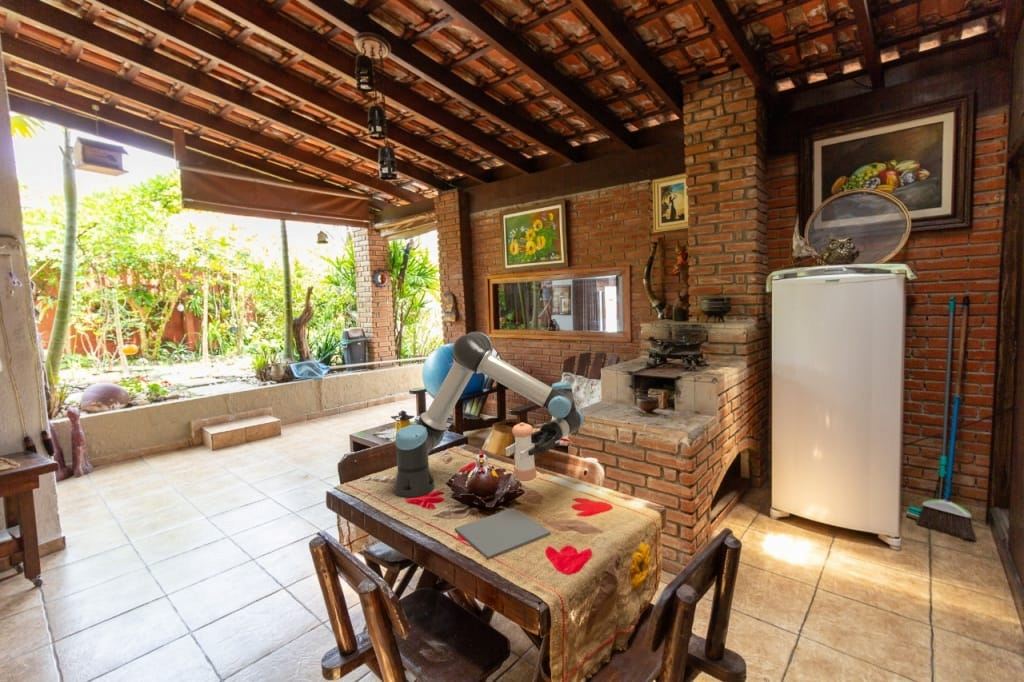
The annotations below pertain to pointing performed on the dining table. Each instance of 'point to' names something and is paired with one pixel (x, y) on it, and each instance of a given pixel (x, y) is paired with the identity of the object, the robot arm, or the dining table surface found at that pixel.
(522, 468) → the pepper shaker
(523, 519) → the slate mat
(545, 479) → the dining table surface
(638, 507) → the dining table surface
